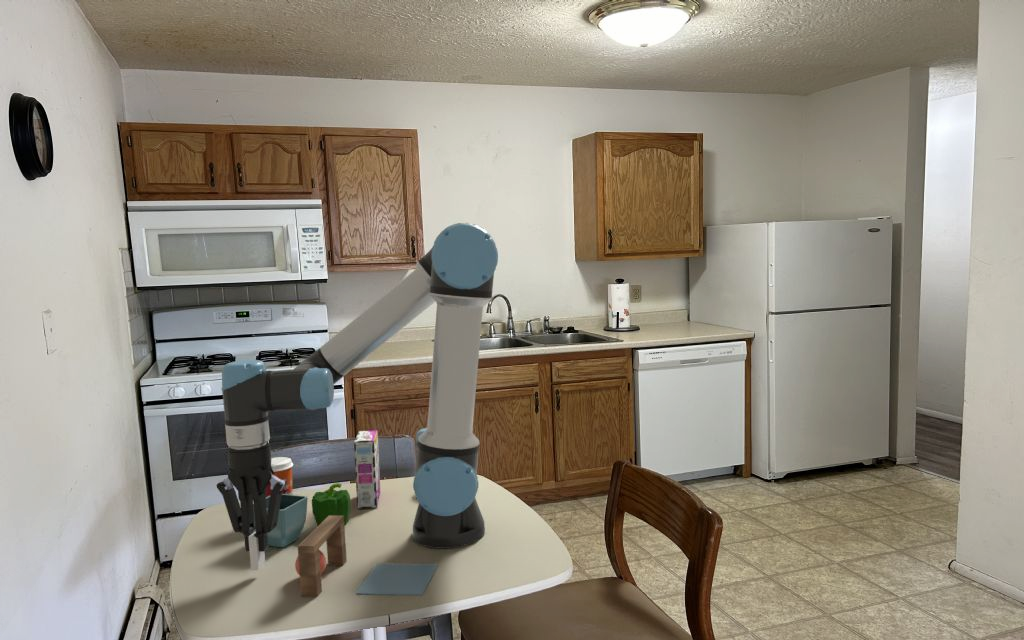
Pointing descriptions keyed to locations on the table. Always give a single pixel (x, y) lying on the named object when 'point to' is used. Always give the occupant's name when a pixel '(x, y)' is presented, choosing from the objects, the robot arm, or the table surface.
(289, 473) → the paper cup
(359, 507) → the candy bar box
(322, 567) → the ball
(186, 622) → the table surface
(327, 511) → the bell pepper
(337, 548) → the bridge
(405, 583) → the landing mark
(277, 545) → the flower pot
